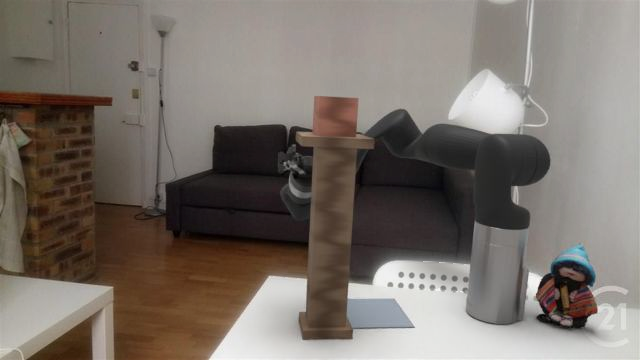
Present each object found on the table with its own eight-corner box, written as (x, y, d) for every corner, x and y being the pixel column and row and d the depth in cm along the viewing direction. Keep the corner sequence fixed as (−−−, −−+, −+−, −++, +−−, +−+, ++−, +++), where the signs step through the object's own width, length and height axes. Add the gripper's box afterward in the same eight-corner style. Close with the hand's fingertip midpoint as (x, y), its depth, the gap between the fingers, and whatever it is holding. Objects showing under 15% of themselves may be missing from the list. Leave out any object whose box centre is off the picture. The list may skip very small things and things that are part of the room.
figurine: (531, 326, 87) (541, 244, 85) (533, 311, 93) (543, 235, 91) (595, 340, 83) (608, 254, 80) (593, 324, 89) (605, 244, 87)
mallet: (336, 130, 93) (338, 97, 92) (356, 137, 77) (358, 98, 76) (304, 128, 92) (306, 96, 91) (317, 135, 76) (319, 96, 75)
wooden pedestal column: (348, 310, 90) (360, 134, 85) (361, 338, 79) (375, 139, 74) (288, 311, 88) (296, 131, 83) (293, 339, 78) (302, 136, 73)
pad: (394, 299, 96) (394, 298, 96) (414, 327, 84) (414, 326, 84) (338, 299, 94) (338, 298, 94) (351, 328, 83) (351, 327, 83)
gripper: (275, 162, 115) (280, 131, 100) (335, 164, 117) (349, 134, 102) (274, 192, 112) (279, 165, 97) (336, 193, 114) (350, 167, 99)
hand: (315, 149), depth 100 cm, fingers open, 8 cm apart
